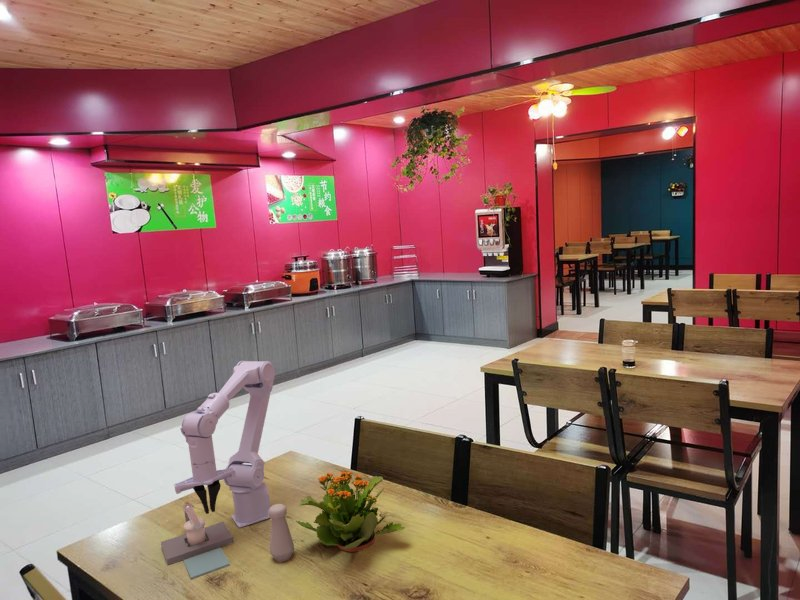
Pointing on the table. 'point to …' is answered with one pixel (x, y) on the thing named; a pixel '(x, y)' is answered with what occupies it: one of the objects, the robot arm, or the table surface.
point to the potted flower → (347, 513)
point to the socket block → (179, 551)
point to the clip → (192, 515)
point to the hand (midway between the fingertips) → (209, 511)
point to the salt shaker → (280, 534)
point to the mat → (206, 563)
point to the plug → (195, 533)
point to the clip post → (186, 517)
